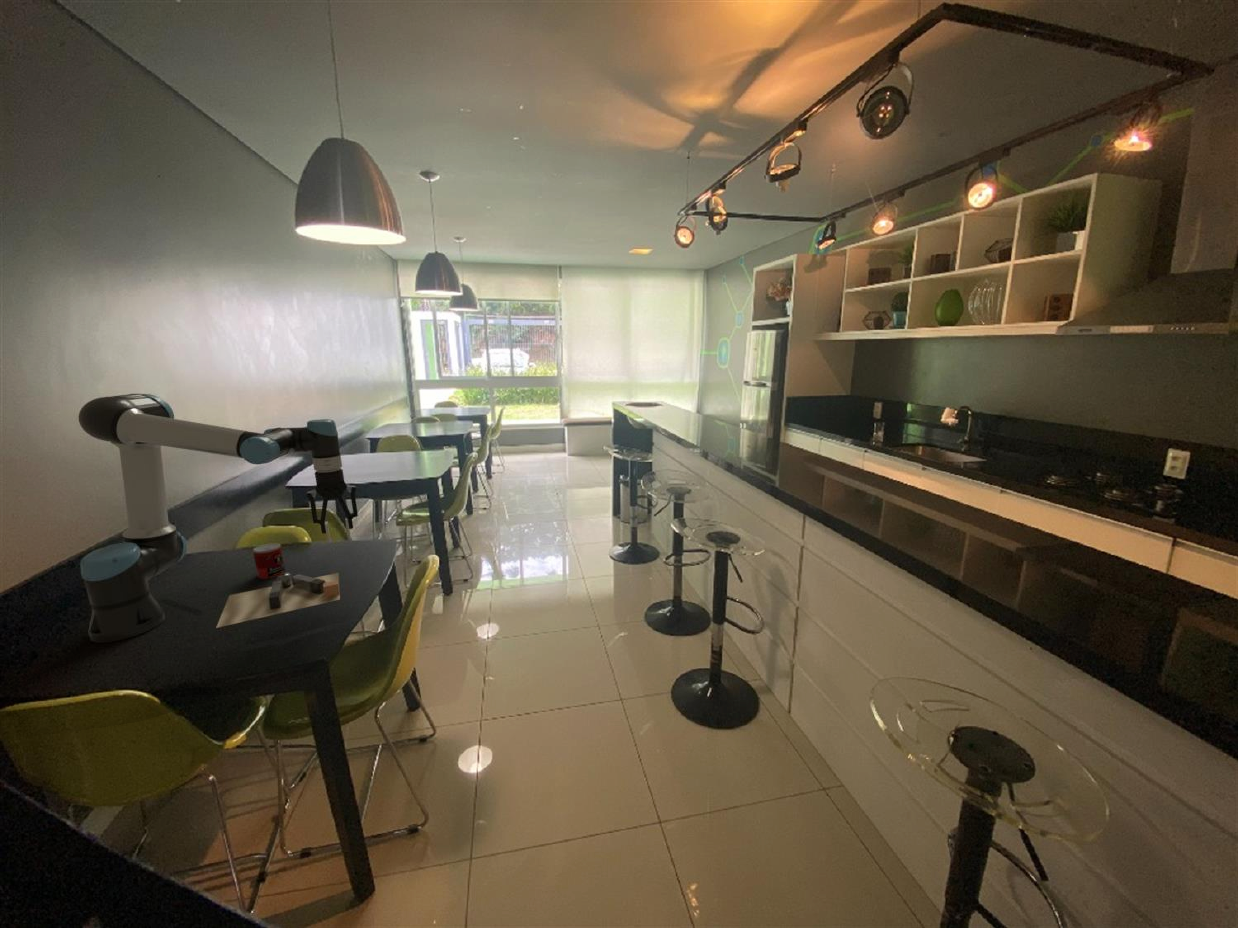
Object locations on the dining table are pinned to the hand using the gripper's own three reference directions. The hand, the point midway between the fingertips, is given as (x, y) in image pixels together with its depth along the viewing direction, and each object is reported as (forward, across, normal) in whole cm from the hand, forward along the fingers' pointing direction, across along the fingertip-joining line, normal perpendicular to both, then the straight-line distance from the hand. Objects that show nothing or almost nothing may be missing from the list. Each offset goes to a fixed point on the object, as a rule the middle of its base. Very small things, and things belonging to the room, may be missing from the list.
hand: (339, 540), depth 155 cm
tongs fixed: (+16, -18, +3) cm, 24 cm away
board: (+17, -17, +1) cm, 24 cm away
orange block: (+16, -4, -4) cm, 17 cm away
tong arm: (+16, -10, +3) cm, 19 cm away
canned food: (+17, -22, +24) cm, 37 cm away
